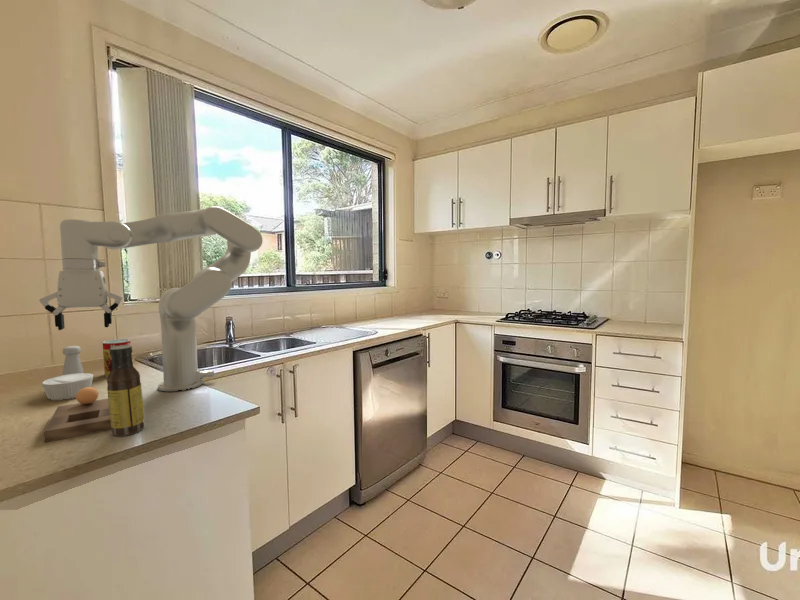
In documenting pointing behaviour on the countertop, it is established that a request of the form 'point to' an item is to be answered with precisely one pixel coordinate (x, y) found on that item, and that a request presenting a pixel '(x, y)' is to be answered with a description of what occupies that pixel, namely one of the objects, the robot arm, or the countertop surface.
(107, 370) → the canned food
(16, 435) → the countertop surface
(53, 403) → the countertop surface
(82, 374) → the ramekin
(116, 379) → the sauce bottle
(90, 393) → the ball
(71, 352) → the salt shaker
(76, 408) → the board
